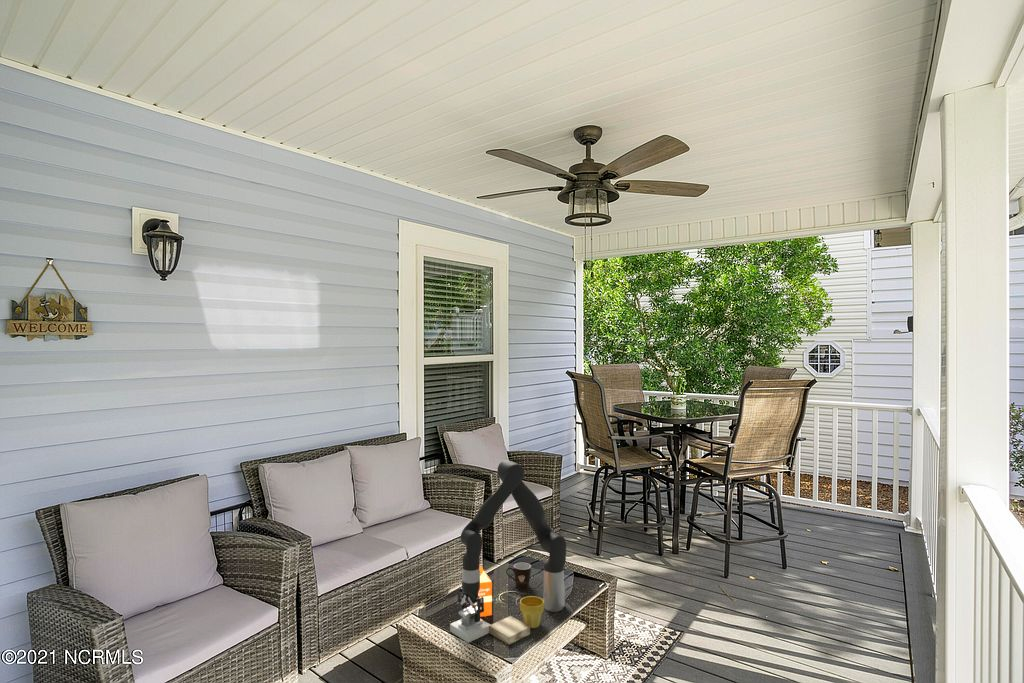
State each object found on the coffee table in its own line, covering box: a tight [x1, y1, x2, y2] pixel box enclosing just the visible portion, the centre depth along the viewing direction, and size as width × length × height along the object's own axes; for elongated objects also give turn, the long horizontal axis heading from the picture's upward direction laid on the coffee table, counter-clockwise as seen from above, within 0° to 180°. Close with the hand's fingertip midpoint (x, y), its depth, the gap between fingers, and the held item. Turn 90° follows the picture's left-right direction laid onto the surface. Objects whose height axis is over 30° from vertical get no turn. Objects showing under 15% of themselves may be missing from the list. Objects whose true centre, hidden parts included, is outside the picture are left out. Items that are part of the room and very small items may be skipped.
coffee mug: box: [505, 562, 532, 590], centre depth 265 cm, size 12×9×10 cm
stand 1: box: [449, 618, 491, 643], centre depth 222 cm, size 12×12×3 cm
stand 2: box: [488, 615, 531, 646], centre depth 221 cm, size 12×12×3 cm
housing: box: [458, 604, 483, 630], centre depth 222 cm, size 9×5×6 cm, turn 133°
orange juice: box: [469, 564, 493, 618], centre depth 239 cm, size 8×9×20 cm
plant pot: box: [519, 595, 545, 629], centre depth 228 cm, size 10×10×10 cm
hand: (470, 617), depth 222 cm, fingers open, 8 cm apart
